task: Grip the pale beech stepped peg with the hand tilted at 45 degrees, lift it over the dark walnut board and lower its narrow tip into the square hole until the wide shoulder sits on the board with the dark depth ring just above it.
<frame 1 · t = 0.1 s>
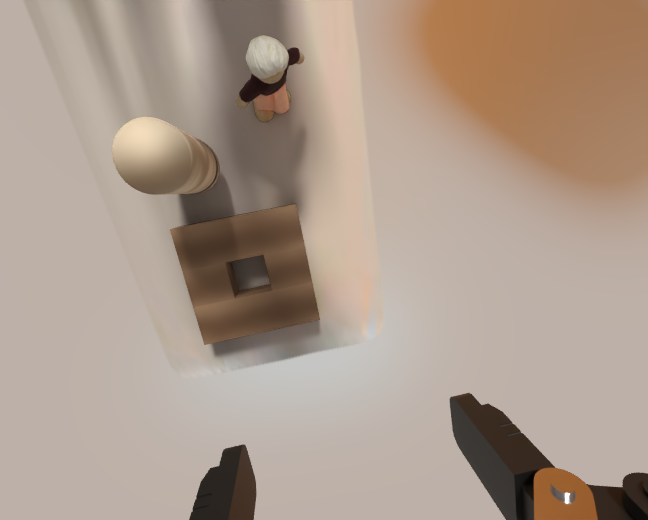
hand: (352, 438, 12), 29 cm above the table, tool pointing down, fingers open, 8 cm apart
beech peg: (199, 168, 37), on the table
walnut board: (251, 270, 40), on the table
grandmother figurine: (275, 99, 37), on the table
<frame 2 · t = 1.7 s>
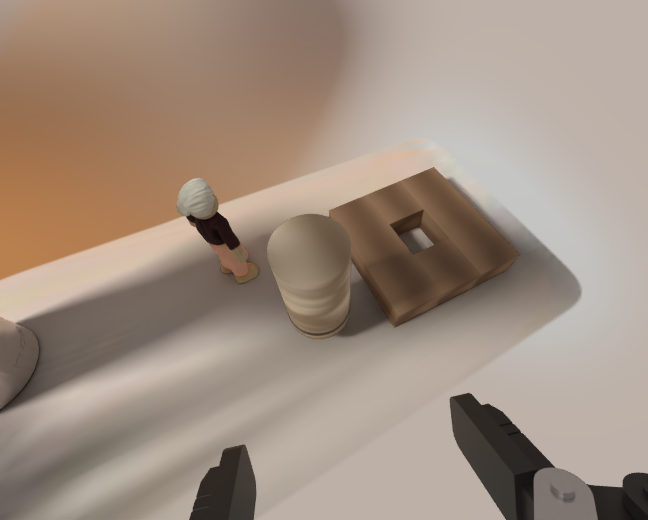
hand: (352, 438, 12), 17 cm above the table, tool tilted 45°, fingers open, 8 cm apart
beech peg: (321, 319, 32), on the table
walnut board: (413, 247, 36), on the table
grandmother figurine: (236, 266, 36), on the table
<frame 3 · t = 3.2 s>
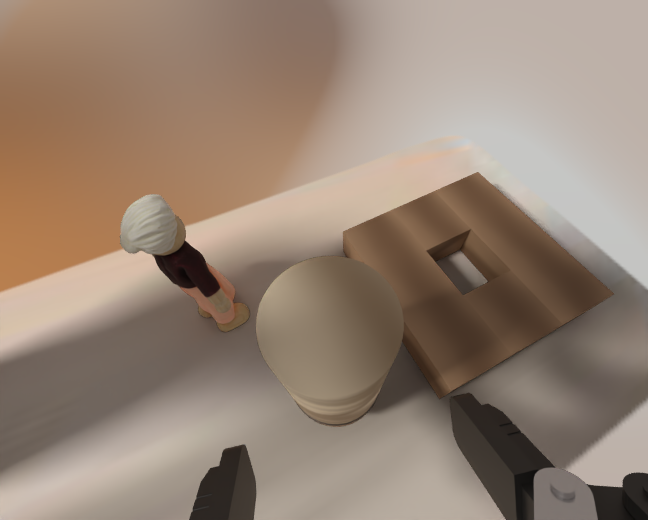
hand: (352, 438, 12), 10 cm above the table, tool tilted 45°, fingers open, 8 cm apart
beech peg: (336, 386, 23), on the table
walnut board: (455, 278, 27), on the table
grandmother figurine: (220, 307, 27), on the table
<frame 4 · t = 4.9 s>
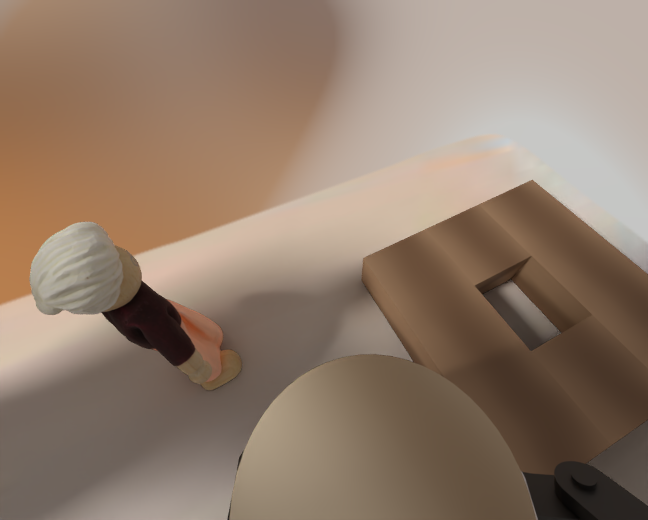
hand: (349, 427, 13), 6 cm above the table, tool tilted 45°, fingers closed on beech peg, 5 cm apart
beech peg: (356, 474, 17), on the table, touching gripper
walnut board: (509, 319, 21), on the table
grandmother figurine: (204, 354, 21), on the table
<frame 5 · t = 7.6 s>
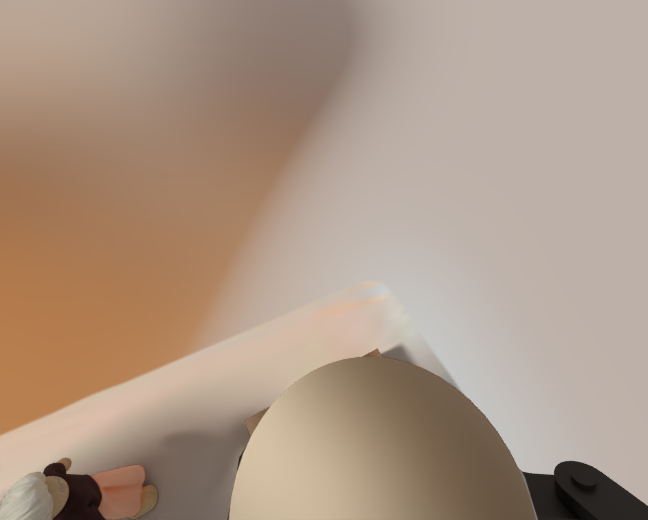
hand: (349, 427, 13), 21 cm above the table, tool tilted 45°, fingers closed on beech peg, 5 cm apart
beech peg: (356, 475, 17), point 14 cm above the table, touching gripper
walnut board: (350, 460, 30), on the table
grandmother figurine: (132, 487, 30), on the table
when the fingers open (7 cm above the table, at t = 10.3 s): beech peg stays where it is, resting on walnut board.
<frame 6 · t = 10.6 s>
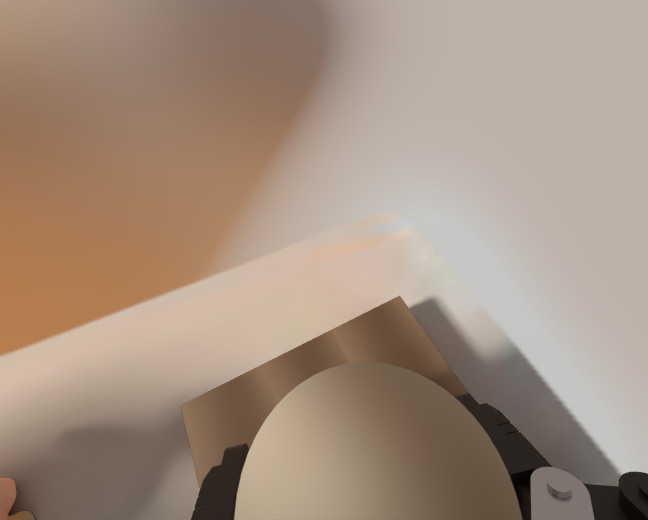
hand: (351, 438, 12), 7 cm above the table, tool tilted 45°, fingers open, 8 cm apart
beech peg: (356, 477, 17), resting on walnut board
walnut board: (355, 473, 18), on the table
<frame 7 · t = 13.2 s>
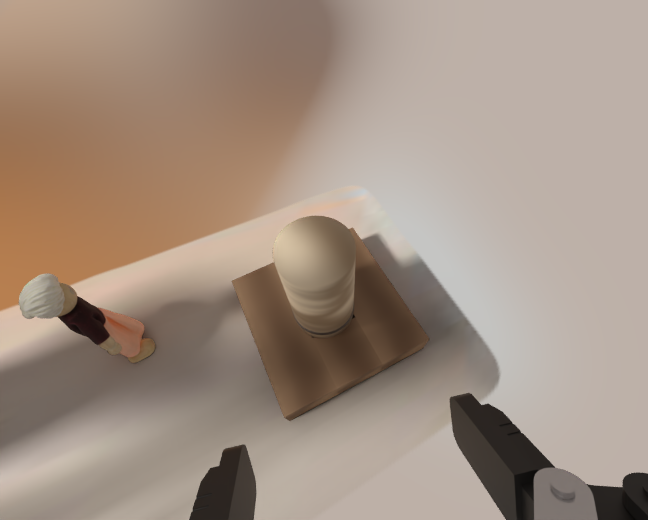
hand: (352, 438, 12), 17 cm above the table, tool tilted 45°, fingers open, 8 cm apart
beech peg: (325, 318, 33), resting on walnut board
walnut board: (325, 319, 33), on the table
grandmother figurine: (133, 341, 34), on the table
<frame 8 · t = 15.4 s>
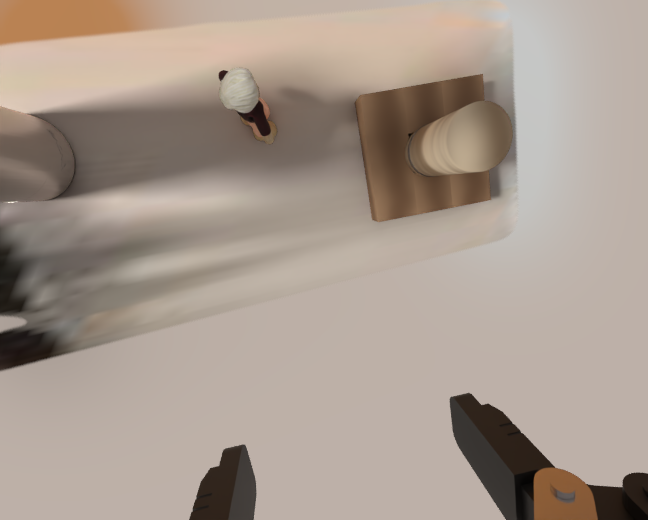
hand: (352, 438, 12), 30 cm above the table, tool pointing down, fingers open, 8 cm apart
beech peg: (420, 154, 40), resting on walnut board
walnut board: (418, 153, 40), on the table
grandmother figurine: (255, 118, 38), on the table
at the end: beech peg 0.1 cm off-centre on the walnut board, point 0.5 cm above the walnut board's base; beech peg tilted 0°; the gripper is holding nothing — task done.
